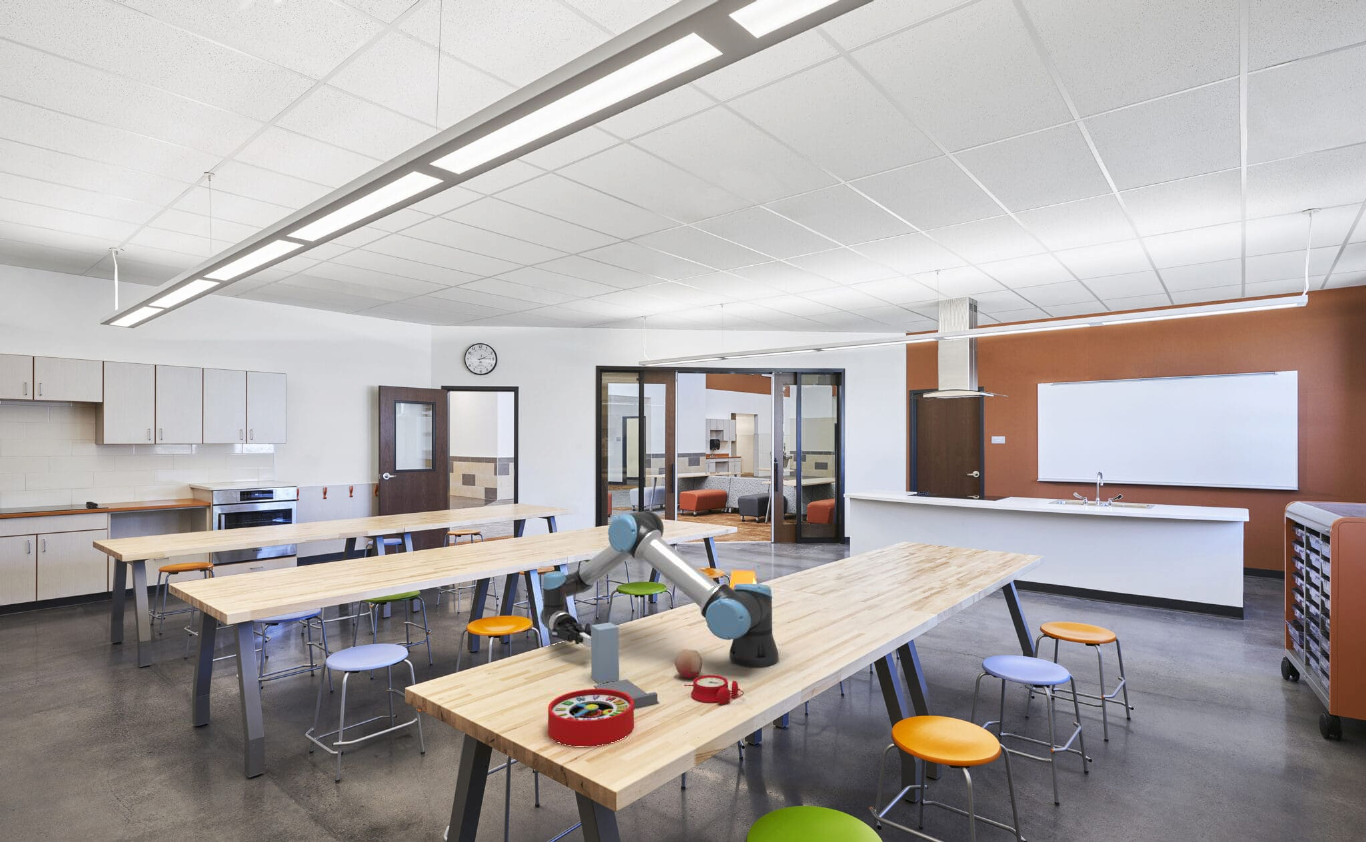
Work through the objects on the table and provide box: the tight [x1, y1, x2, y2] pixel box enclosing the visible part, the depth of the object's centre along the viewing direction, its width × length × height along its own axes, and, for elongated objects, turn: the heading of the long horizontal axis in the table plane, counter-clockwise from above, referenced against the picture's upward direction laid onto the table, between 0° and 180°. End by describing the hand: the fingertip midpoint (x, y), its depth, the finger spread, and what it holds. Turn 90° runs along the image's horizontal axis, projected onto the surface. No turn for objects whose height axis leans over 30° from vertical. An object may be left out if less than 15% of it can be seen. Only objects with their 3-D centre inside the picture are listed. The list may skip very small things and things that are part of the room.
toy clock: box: [547, 688, 635, 747], centre depth 155 cm, size 20×6×20 cm
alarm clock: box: [684, 674, 745, 705], centre depth 173 cm, size 10×6×15 cm
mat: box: [593, 679, 660, 710], centre depth 175 cm, size 20×10×2 cm, turn 29°
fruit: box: [674, 648, 703, 680], centre depth 189 cm, size 8×8×8 cm
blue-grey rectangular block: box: [590, 622, 620, 685], centre depth 188 cm, size 6×6×15 cm
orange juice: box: [729, 569, 758, 589], centre depth 244 cm, size 8×9×20 cm
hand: (589, 642), depth 197 cm, fingers closed
